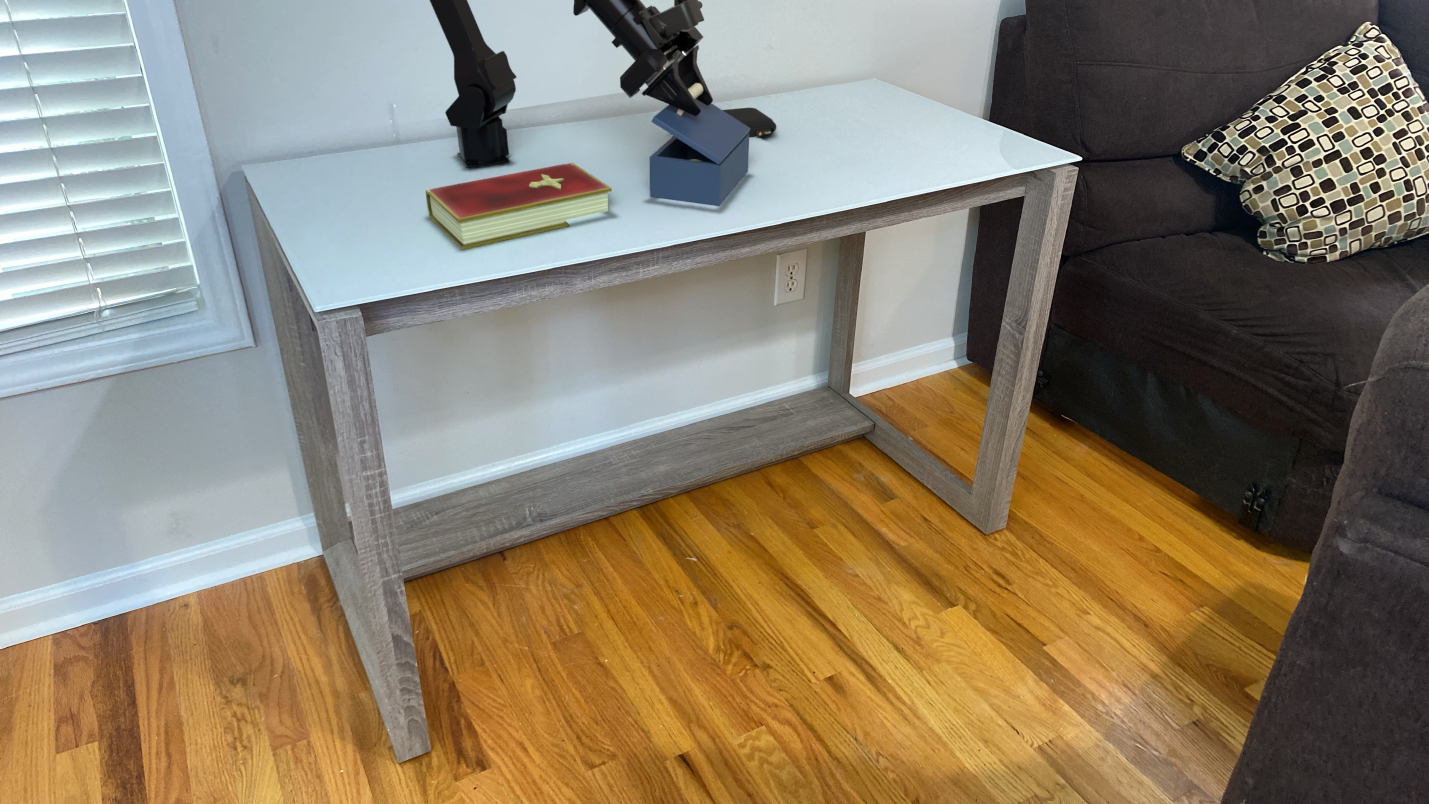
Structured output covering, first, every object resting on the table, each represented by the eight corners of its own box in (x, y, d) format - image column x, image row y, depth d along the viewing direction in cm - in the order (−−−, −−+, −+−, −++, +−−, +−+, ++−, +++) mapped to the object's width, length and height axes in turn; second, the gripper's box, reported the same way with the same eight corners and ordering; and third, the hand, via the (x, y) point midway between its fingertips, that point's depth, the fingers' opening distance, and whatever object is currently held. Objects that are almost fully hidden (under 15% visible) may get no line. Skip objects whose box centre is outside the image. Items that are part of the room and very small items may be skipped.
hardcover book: (429, 217, 127) (424, 186, 125) (572, 188, 137) (570, 159, 135) (462, 249, 119) (457, 217, 117) (612, 216, 129) (611, 186, 127)
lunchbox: (650, 202, 134) (649, 157, 130) (683, 168, 145) (684, 126, 142) (718, 211, 131) (720, 165, 128) (747, 176, 143) (749, 133, 139)
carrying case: (699, 150, 152) (783, 140, 157) (699, 130, 151) (784, 122, 156) (675, 130, 161) (756, 121, 165) (675, 111, 159) (757, 104, 164)
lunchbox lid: (650, 121, 127) (664, 94, 125) (686, 93, 139) (698, 67, 137) (718, 165, 128) (733, 138, 125) (748, 132, 139) (762, 108, 137)
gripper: (639, -14, 117) (725, 87, 120) (688, -37, 132) (764, 53, 135) (583, 49, 123) (667, 143, 126) (636, 20, 138) (710, 104, 141)
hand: (704, 108), depth 132 cm, fingers closed on lunchbox lid, 5 cm apart
